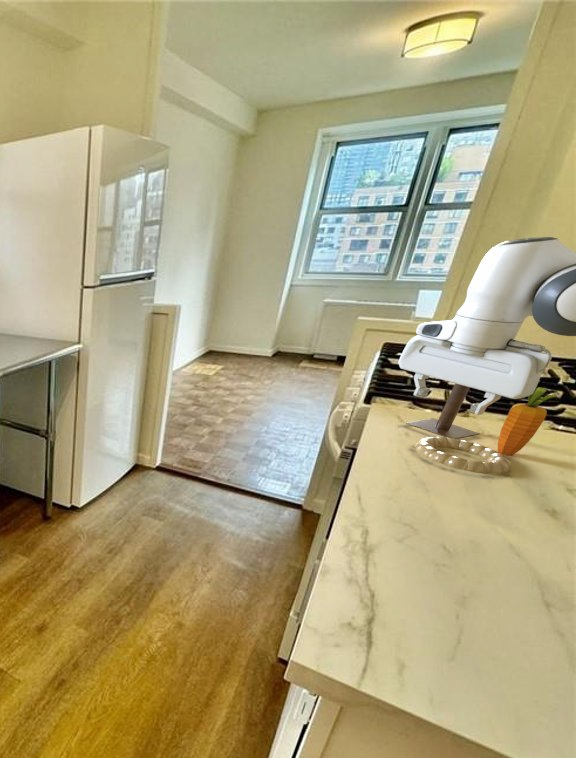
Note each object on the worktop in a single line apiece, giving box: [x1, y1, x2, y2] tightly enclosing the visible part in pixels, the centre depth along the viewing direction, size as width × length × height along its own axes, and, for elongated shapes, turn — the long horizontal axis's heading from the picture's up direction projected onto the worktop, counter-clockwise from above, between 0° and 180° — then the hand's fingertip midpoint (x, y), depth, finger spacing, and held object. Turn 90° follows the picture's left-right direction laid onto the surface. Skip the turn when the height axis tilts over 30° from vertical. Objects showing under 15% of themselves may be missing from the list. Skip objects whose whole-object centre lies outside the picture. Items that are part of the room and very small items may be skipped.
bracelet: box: [414, 436, 512, 475], centre depth 93 cm, size 14×14×3 cm
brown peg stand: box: [405, 383, 480, 439], centre depth 103 cm, size 9×9×14 cm
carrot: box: [497, 387, 558, 457], centre depth 92 cm, size 5×5×15 cm
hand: (446, 404), depth 94 cm, fingers open, 8 cm apart
